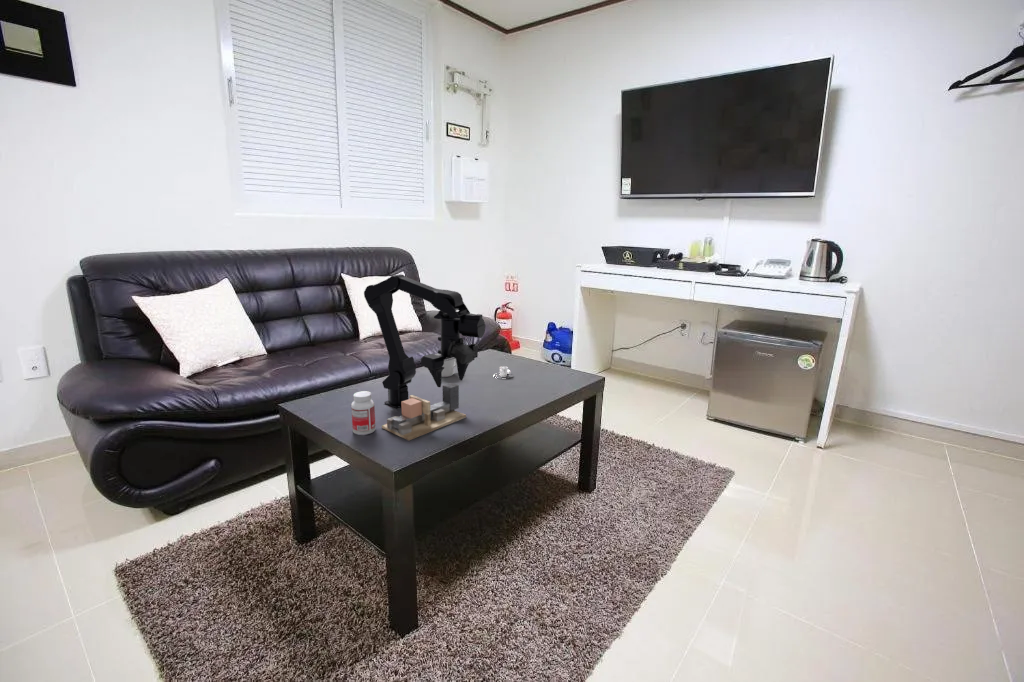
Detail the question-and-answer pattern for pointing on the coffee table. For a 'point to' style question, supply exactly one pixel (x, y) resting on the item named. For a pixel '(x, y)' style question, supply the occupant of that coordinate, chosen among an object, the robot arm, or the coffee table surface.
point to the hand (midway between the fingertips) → (450, 383)
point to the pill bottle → (363, 413)
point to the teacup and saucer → (503, 371)
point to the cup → (448, 367)
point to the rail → (426, 426)
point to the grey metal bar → (435, 406)
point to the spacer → (411, 408)
